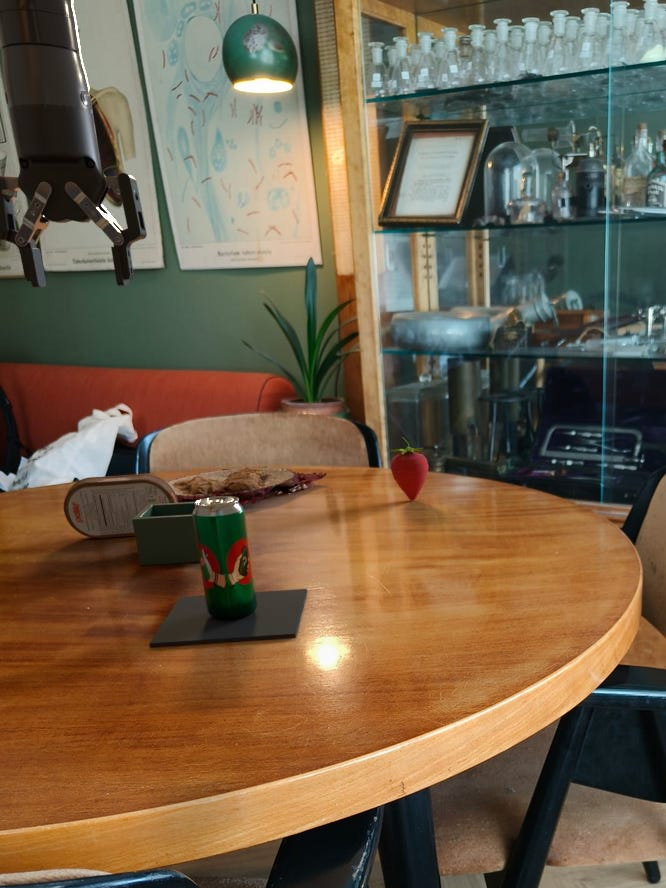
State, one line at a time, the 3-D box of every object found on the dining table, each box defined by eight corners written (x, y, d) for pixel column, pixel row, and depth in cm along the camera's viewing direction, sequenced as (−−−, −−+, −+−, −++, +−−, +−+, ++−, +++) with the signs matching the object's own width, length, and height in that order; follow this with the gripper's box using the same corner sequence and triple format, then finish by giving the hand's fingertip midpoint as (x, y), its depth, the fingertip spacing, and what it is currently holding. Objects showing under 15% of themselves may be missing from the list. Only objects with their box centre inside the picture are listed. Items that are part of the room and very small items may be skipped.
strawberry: (396, 507, 136) (391, 442, 132) (390, 497, 143) (385, 434, 139) (434, 504, 137) (430, 439, 134) (426, 494, 144) (422, 432, 140)
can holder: (140, 565, 111) (131, 519, 109) (155, 547, 119) (148, 504, 117) (206, 561, 112) (199, 515, 110) (217, 544, 120) (211, 500, 117)
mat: (149, 647, 85) (148, 643, 85) (180, 600, 98) (179, 596, 98) (295, 637, 86) (295, 633, 86) (307, 591, 99) (307, 588, 99)
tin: (182, 528, 129) (173, 470, 125) (180, 533, 126) (170, 474, 123) (73, 537, 126) (60, 478, 123) (68, 543, 123) (55, 483, 120)
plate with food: (329, 484, 155) (327, 464, 154) (230, 513, 134) (227, 491, 133) (225, 477, 166) (223, 459, 164) (117, 504, 144) (114, 483, 143)
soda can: (259, 603, 95) (244, 493, 90) (256, 619, 90) (240, 504, 86) (211, 607, 94) (193, 496, 90) (205, 624, 90) (187, 508, 85)
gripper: (136, 114, 90) (160, 285, 96) (-9, 114, 89) (24, 287, 95) (114, 100, 83) (141, 285, 89) (-43, 100, 82) (-5, 287, 88)
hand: (81, 286), depth 92 cm, fingers open, 8 cm apart
